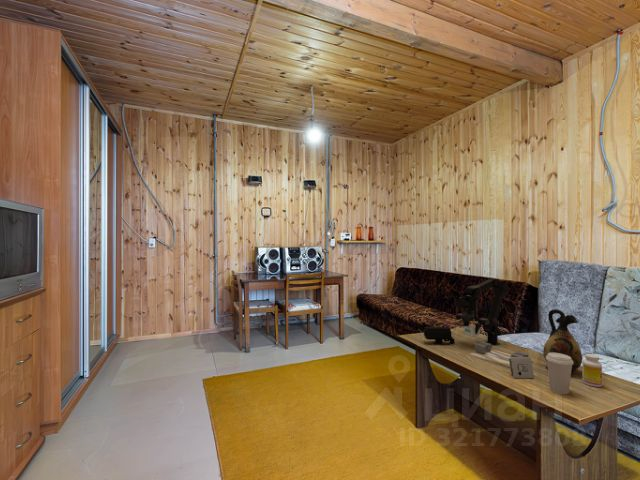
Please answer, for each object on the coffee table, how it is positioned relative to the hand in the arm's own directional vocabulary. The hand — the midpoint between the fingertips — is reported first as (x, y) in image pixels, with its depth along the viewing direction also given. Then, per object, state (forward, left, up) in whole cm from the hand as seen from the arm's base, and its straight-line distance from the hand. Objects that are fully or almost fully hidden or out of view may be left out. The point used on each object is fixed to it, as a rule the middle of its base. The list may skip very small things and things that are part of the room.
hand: (471, 333), depth 190 cm
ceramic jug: (-3, +44, -8) cm, 45 cm away
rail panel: (+7, +20, -8) cm, 23 cm away
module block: (0, 0, -1) cm, 1 cm away
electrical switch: (+22, +36, -8) cm, 43 cm away
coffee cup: (+24, +52, -8) cm, 58 cm away
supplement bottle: (+4, +58, -8) cm, 59 cm away
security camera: (+12, -14, -8) cm, 20 cm away
